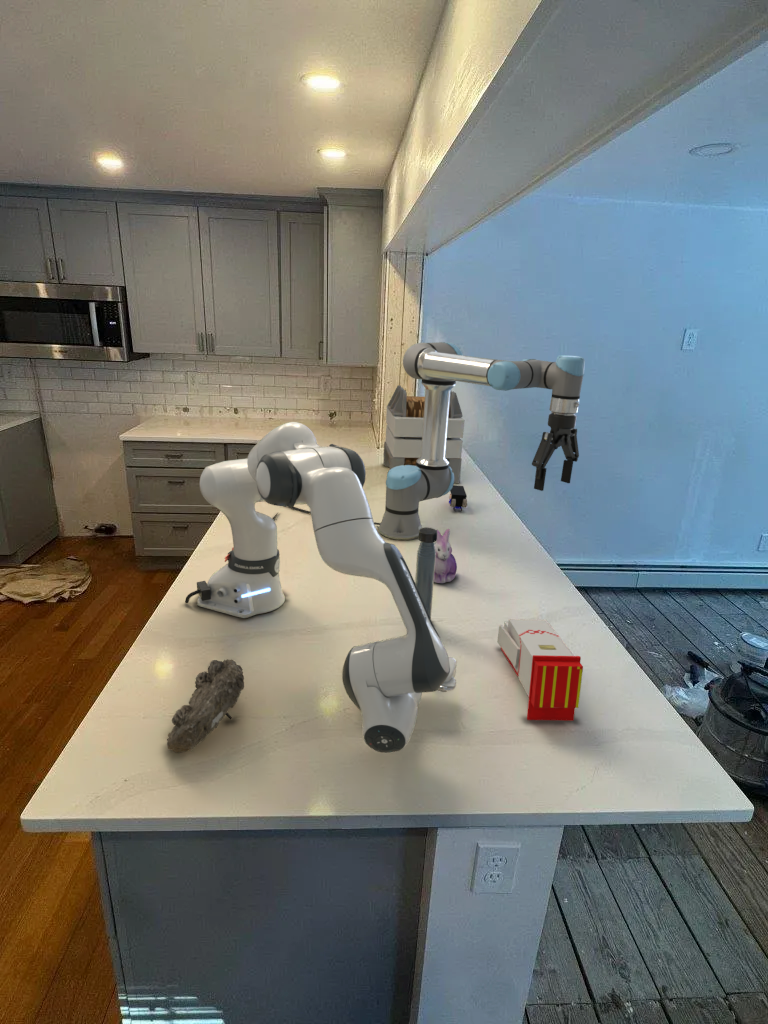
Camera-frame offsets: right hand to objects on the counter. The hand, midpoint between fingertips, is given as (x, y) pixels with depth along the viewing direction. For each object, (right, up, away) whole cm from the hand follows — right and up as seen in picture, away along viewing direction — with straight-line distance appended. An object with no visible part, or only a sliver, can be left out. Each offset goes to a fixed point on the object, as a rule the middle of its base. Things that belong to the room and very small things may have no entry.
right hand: (552, 485), depth 166 cm
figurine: (-32, -27, +3) cm, 42 cm away
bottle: (-40, -36, -22) cm, 58 cm away
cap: (-39, -12, -31) cm, 51 cm away
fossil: (-82, -47, -57) cm, 110 cm away
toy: (-17, -44, -42) cm, 63 cm away
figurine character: (-20, -6, +64) cm, 67 cm away
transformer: (-32, +11, +109) cm, 115 cm away
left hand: (-43, -36, -44) cm, 72 cm away
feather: (-89, -9, +45) cm, 100 cm away
